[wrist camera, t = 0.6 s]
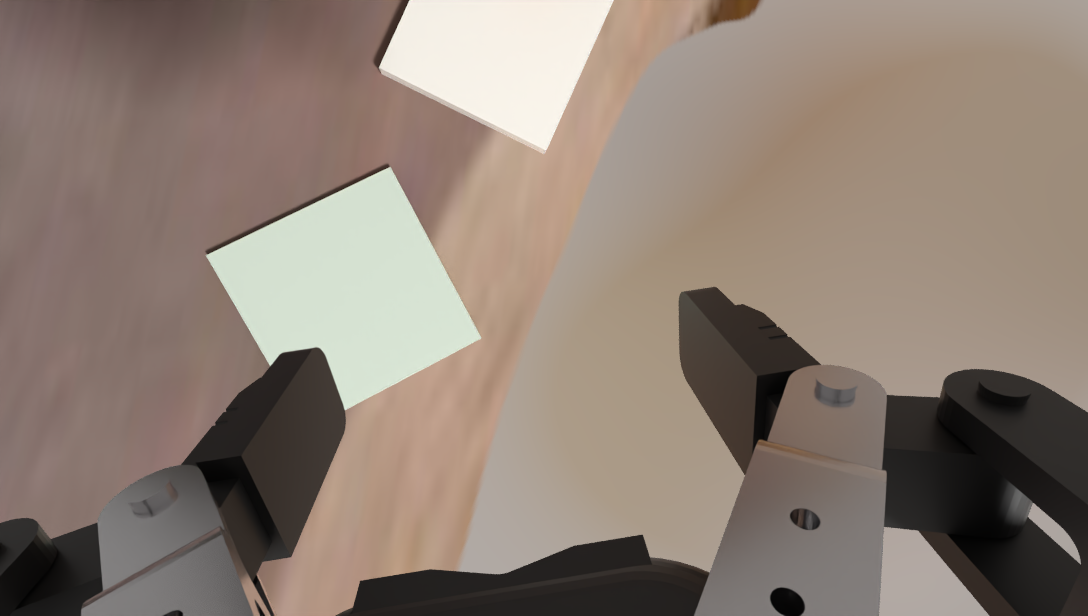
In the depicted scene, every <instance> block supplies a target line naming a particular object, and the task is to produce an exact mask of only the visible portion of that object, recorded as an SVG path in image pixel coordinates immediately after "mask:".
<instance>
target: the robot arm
mask: <svg viewBox="0 0 1088 616" xmlns="http://www.w3.org/2000/svg"><path fill="white" fill-rule="evenodd" d="M679 345H680V346H679V348H680V360H681V367H682V370H683V373H684V376H685V379H686V381H687V382H688V384H689V386H690V387H691V388H692V390H693V392H694V394H695V395H696V397H697V398H698V400H699V402H700V403H701V405H702V407H703V408H704V410H705V411H706V413H707V415H708V416H709V418H710V419H711V421H712V422H713V424H714V426H715V428H716V429H717V431H718V432H719V434H720V435H721V437H722V439H723V440H724V442H725V444H726V445H727V447H728V448H729V450H730V452H731V453H732V455H733V457H734V458H735V460H736V462H737V463H738V465H739V466H740V468H741V470H742V471H743V473H744V475H745V477H744V480H743V483H742V486H741V488H740V491H739V494H738V497H737V499H736V502H735V505H734V507H733V510H732V513H731V516H730V519H729V521H728V524H727V527H726V529H725V532H724V535H723V538H722V541H721V543H720V546H719V549H718V552H717V554H716V557H715V560H714V562H713V565H712V568H711V571H710V573H709V572H707V571H704V570H702V569H700V568H697V567H694V566H691V565H688V564H684V563H681V562H677V561H672V560H666V559H660V558H650V557H649V553H648V550H647V547H646V544H645V541H644V537H643V535H638V536H632V537H625V538H620V539H613V540H608V541H601V542H595V543H589V544H583V545H577V546H573V547H570V548H568V549H565V550H563V551H561V552H558V553H555V554H553V555H550V556H548V557H545V558H543V559H541V560H538V561H536V562H533V563H531V564H528V565H526V566H523V567H521V568H518V569H516V570H514V571H511V572H509V573H505V574H483V573H470V572H457V571H444V570H431V569H430V570H424V571H418V572H412V573H406V574H399V575H393V576H387V577H381V578H375V579H369V580H363V581H360V584H359V587H358V591H357V595H356V599H355V602H354V606H353V608H351V609H348V610H346V611H344V612H342V613H340V614H338V615H336V616H879V605H880V588H881V569H882V552H883V533H884V527H891V528H900V529H909V530H918V531H919V532H920V533H921V535H922V536H923V537H924V538H925V539H926V541H927V542H928V543H929V544H930V545H931V546H932V547H933V549H934V550H935V551H936V552H937V554H938V555H939V556H940V557H941V558H942V559H943V561H944V562H945V563H946V564H947V566H948V567H949V568H950V569H951V570H952V571H953V573H954V574H955V575H956V576H957V577H958V579H959V580H960V581H961V582H962V583H963V585H964V586H965V587H966V588H967V589H968V591H969V592H970V593H971V594H972V595H973V597H974V598H975V599H976V600H977V601H978V602H979V604H980V605H981V606H982V607H983V608H984V610H985V611H986V612H987V613H988V614H989V616H1088V412H1086V411H1085V410H1083V409H1081V408H1080V407H1078V406H1076V405H1075V404H1073V403H1072V402H1070V401H1068V400H1067V399H1065V398H1064V397H1062V396H1060V395H1059V394H1057V393H1055V392H1054V391H1052V390H1050V389H1049V388H1047V387H1045V386H1043V385H1041V384H1039V383H1037V382H1035V381H1032V380H1030V379H1027V378H1024V377H1021V376H1017V375H1014V374H1010V373H1005V372H1000V371H994V370H983V369H971V370H963V371H958V372H954V373H952V374H950V375H948V376H947V377H946V379H945V380H944V383H943V387H942V391H941V395H940V398H938V397H915V396H894V395H886V392H885V389H884V388H883V387H882V386H881V384H880V383H878V382H877V381H876V380H875V379H873V378H871V377H870V376H868V375H866V374H864V373H862V372H859V371H856V370H853V369H850V368H845V367H841V366H834V365H821V364H820V363H819V362H818V361H816V360H815V359H814V358H813V357H812V356H811V355H810V354H809V353H807V352H806V351H805V350H804V349H803V348H802V347H801V346H800V345H799V344H797V343H796V342H795V341H794V340H793V339H792V338H791V337H788V336H787V334H786V333H785V332H784V331H783V330H782V329H781V328H779V327H777V326H776V324H775V323H774V322H773V321H772V320H771V319H770V318H768V317H767V316H766V315H765V314H764V313H762V312H760V311H758V310H755V309H753V308H750V307H748V306H746V305H743V304H741V305H734V304H733V303H732V302H731V301H730V300H729V299H728V298H727V297H726V296H725V295H724V294H723V293H722V292H721V291H720V290H719V289H718V288H716V287H711V288H705V289H698V290H691V291H685V292H681V294H680V297H679ZM215 423H216V425H215V426H212V427H211V428H210V430H209V431H208V432H207V433H206V435H205V436H204V437H203V438H202V439H201V441H200V442H199V443H198V444H197V446H196V447H195V448H194V449H193V451H192V452H191V453H190V454H189V456H188V457H187V458H186V459H185V460H184V462H183V463H182V464H181V465H178V466H173V467H169V468H165V469H162V470H159V471H157V472H154V473H152V474H150V475H147V476H145V477H143V478H141V479H139V480H138V481H136V482H134V483H133V484H131V485H129V486H128V487H127V488H125V489H124V490H122V491H121V492H120V493H119V494H117V495H116V496H115V497H114V498H113V499H112V500H111V501H110V502H109V503H108V504H107V505H106V506H105V507H104V509H103V510H102V512H101V513H100V515H99V518H98V523H95V524H92V525H90V526H87V527H84V528H81V529H78V530H76V531H73V532H70V533H67V534H64V535H61V536H59V537H56V538H53V539H50V538H49V537H48V535H47V534H46V533H45V532H44V530H43V529H42V528H41V526H40V525H39V524H38V522H37V521H35V520H34V519H30V518H20V519H14V520H9V521H5V522H2V523H0V616H277V615H276V613H275V611H274V608H273V606H272V604H271V601H270V599H269V597H268V595H267V592H266V590H265V588H264V585H263V583H262V582H261V580H260V578H259V576H258V574H257V572H258V570H259V568H260V566H261V564H262V562H264V561H270V560H276V559H282V558H288V557H291V556H292V554H293V551H294V549H295V547H296V544H297V542H298V540H299V537H300V535H301V533H302V530H303V528H304V526H305V523H306V521H307V519H308V516H309V514H310V512H311V509H312V507H313V505H314V502H315V500H316V498H317V495H318V493H319V491H320V488H321V486H322V483H323V481H324V479H325V476H326V474H327V472H328V469H329V467H330V465H331V462H332V460H333V458H334V455H335V453H336V451H337V448H338V446H339V444H340V441H341V439H342V437H343V434H344V431H345V424H346V417H345V410H344V406H343V403H342V400H341V397H340V394H339V391H338V389H337V386H336V383H335V380H334V378H333V375H332V372H331V369H330V367H329V364H328V361H327V358H326V356H325V354H324V352H323V351H322V350H321V349H320V348H318V347H315V348H309V349H302V350H295V351H289V352H283V353H281V354H280V355H279V356H278V357H277V358H276V360H275V361H274V362H273V364H272V365H271V366H270V367H269V369H268V370H267V371H266V373H265V374H264V375H263V376H262V378H259V379H258V380H256V381H255V382H254V383H252V384H251V385H249V386H248V387H247V388H245V389H244V390H243V391H241V392H240V393H239V394H238V395H237V396H236V397H235V399H234V400H233V401H232V402H231V404H230V405H229V406H228V407H227V409H226V412H223V413H222V415H221V416H220V417H219V418H218V420H217V421H216V422H215ZM1032 503H1035V504H1036V505H1037V506H1038V507H1039V508H1040V509H1041V510H1043V511H1044V512H1045V513H1046V514H1047V515H1048V516H1049V517H1051V518H1052V519H1053V520H1054V521H1055V522H1057V523H1058V524H1059V525H1060V526H1061V527H1062V528H1063V529H1064V530H1065V531H1066V532H1067V533H1068V535H1069V536H1070V537H1071V539H1072V540H1073V542H1074V544H1075V545H1076V547H1077V550H1078V552H1079V555H1080V559H1081V565H1080V564H1079V563H1078V562H1077V561H1076V560H1075V559H1074V558H1073V557H1071V556H1070V555H1069V554H1068V553H1067V552H1066V551H1065V550H1064V549H1063V548H1061V547H1060V546H1059V545H1058V544H1057V543H1056V542H1055V541H1054V540H1053V539H1052V538H1050V537H1049V536H1048V535H1047V534H1046V533H1045V532H1044V531H1043V530H1042V529H1040V528H1039V527H1038V526H1037V525H1036V524H1035V523H1034V522H1033V521H1032V520H1030V519H1029V518H1028V514H1029V512H1030V509H1031V506H1032Z"/></svg>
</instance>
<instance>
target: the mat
mask: <svg viewBox="0 0 1088 616" xmlns="http://www.w3.org/2000/svg"><path fill="white" fill-rule="evenodd" d="M206 256H207V258H208V260H209V261H210V263H211V265H212V267H213V268H214V270H215V272H216V273H217V275H218V277H219V279H220V280H221V282H222V284H223V286H224V287H225V289H226V291H227V292H228V294H229V296H230V298H231V299H232V301H233V303H234V304H235V306H236V308H237V310H238V311H239V313H240V315H241V316H242V318H243V320H244V322H245V323H246V325H247V327H248V329H249V330H250V332H251V334H252V335H253V337H254V339H255V341H256V342H257V344H258V346H259V347H260V349H261V351H262V353H263V354H264V356H265V358H266V359H267V361H268V363H269V365H270V366H271V365H272V364H273V362H274V361H275V360H276V358H277V357H278V356H279V355H280V354H281V353H283V352H289V351H295V350H302V349H309V348H315V347H318V348H320V349H321V350H322V351H323V352H324V354H325V356H326V358H327V361H328V364H329V367H330V369H331V372H332V375H333V378H334V380H335V383H336V386H337V389H338V391H339V394H340V397H341V400H342V403H343V406H344V410H346V409H348V408H350V407H352V406H354V405H356V404H358V403H359V402H361V401H363V400H365V399H367V398H369V397H371V396H373V395H375V394H377V393H378V392H380V391H382V390H384V389H386V388H388V387H390V386H392V385H394V384H396V383H397V382H399V381H401V380H403V379H405V378H407V377H409V376H411V375H413V374H415V373H417V372H418V371H420V370H422V369H424V368H426V367H428V366H430V365H432V364H434V363H436V362H437V361H439V360H441V359H443V358H445V357H447V356H449V355H451V354H453V353H455V352H456V351H458V350H460V349H462V348H464V347H466V346H468V345H470V344H472V343H474V342H475V341H477V340H479V339H481V336H480V334H479V332H478V330H477V329H476V327H475V325H474V323H473V321H472V319H471V317H470V315H469V313H468V312H467V310H466V308H465V306H464V304H463V302H462V300H461V298H460V297H459V295H458V293H457V291H456V289H455V287H454V285H453V283H452V282H451V280H450V278H449V276H448V274H447V272H446V270H445V268H444V266H443V265H442V263H441V261H440V259H439V257H438V255H437V253H436V251H435V250H434V248H433V246H432V244H431V242H430V240H429V238H428V236H427V234H426V233H425V231H424V229H423V227H422V225H421V223H420V221H419V219H418V218H417V216H416V214H415V212H414V210H413V208H412V206H411V204H410V203H409V201H408V199H407V197H406V195H405V193H404V191H403V189H402V187H401V186H400V184H399V182H398V180H397V178H396V176H395V174H394V172H393V171H392V169H391V167H389V168H387V169H385V170H382V171H380V172H378V173H376V174H374V175H372V176H370V177H368V178H366V179H364V180H362V181H360V182H358V183H355V184H353V185H351V186H349V187H347V188H345V189H343V190H341V191H339V192H337V193H335V194H333V195H330V196H328V197H326V198H324V199H322V200H320V201H318V202H316V203H314V204H312V205H310V206H308V207H306V208H303V209H301V210H299V211H297V212H295V213H293V214H291V215H289V216H287V217H285V218H283V219H281V220H278V221H276V222H274V223H272V224H270V225H268V226H266V227H264V228H262V229H260V230H258V231H256V232H254V233H251V234H249V235H247V236H245V237H243V238H241V239H239V240H237V241H235V242H233V243H231V244H229V245H226V246H224V247H222V248H220V249H218V250H216V251H214V252H212V253H210V254H208V255H206Z"/></svg>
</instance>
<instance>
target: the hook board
mask: <svg viewBox="0 0 1088 616" xmlns="http://www.w3.org/2000/svg"><path fill="white" fill-rule="evenodd" d="M612 3H613V0H409V3H408V5H407V7H406V9H405V11H404V14H403V16H402V18H401V20H400V22H399V25H398V27H397V29H396V31H395V33H394V36H393V38H392V40H391V42H390V44H389V47H388V49H387V51H386V53H385V55H384V58H383V60H382V62H381V64H380V66H379V69H380V71H381V74H383V75H385V76H387V77H389V78H391V79H393V80H395V81H397V82H399V83H401V84H403V85H405V86H407V87H409V88H411V89H413V90H415V91H417V92H419V93H421V94H423V95H425V96H427V97H429V98H431V99H433V100H435V101H437V102H439V103H441V104H443V105H445V106H447V107H449V108H451V109H453V110H456V111H458V112H460V113H462V114H464V115H466V116H468V117H470V118H472V119H474V120H476V121H478V122H480V123H482V124H484V125H486V126H488V127H490V128H492V129H494V130H496V131H498V132H500V133H502V134H504V135H506V136H508V137H510V138H512V139H514V140H516V141H518V142H520V143H522V144H524V145H526V146H528V147H530V148H532V149H534V150H536V151H539V152H541V153H543V154H545V152H546V150H547V148H548V146H549V143H550V141H551V139H552V137H553V134H554V132H555V130H556V128H557V125H558V123H559V121H560V119H561V117H562V114H563V112H564V110H565V108H566V105H567V103H568V101H569V99H570V96H571V94H572V92H573V90H574V87H575V85H576V83H577V81H578V79H579V76H580V74H581V72H582V70H583V67H584V65H585V63H586V61H587V58H588V56H589V54H590V52H591V50H592V47H593V45H594V43H595V41H596V38H597V36H598V34H599V32H600V29H601V27H602V25H603V23H604V21H605V18H606V16H607V14H608V12H609V9H610V7H611V5H612Z"/></svg>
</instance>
